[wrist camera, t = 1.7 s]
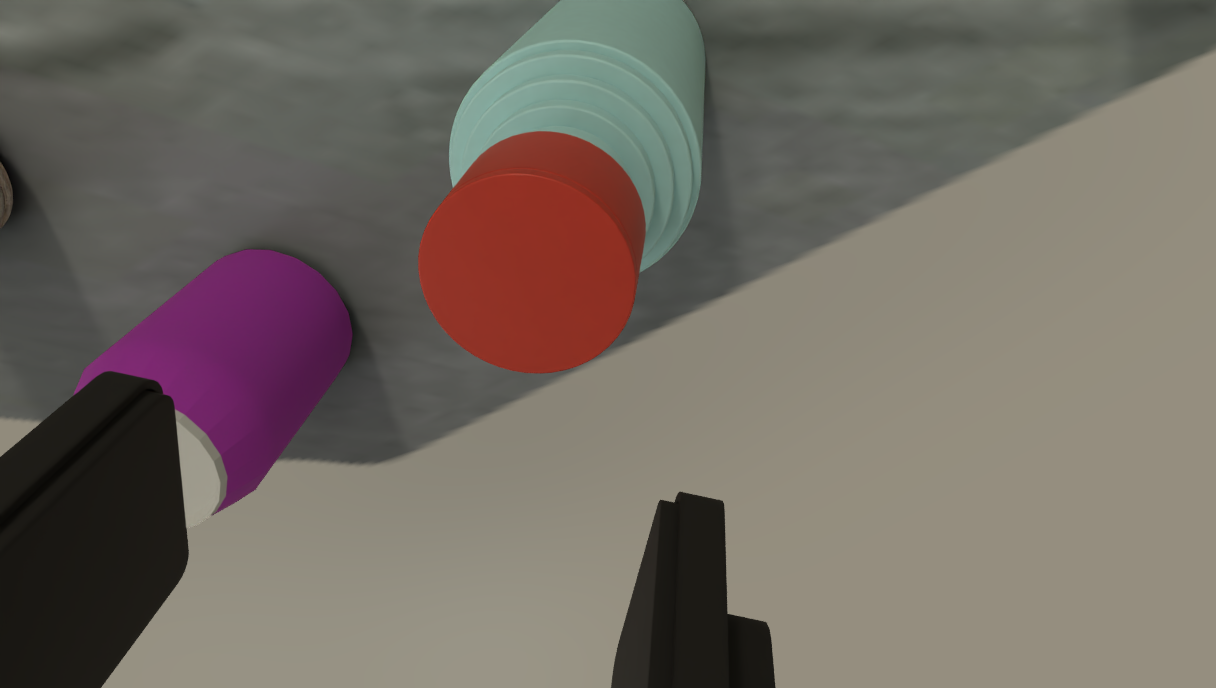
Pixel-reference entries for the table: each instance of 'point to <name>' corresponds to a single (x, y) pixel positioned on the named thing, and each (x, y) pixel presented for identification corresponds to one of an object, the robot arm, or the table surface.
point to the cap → (535, 253)
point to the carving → (5, 196)
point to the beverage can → (237, 367)
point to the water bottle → (604, 100)
